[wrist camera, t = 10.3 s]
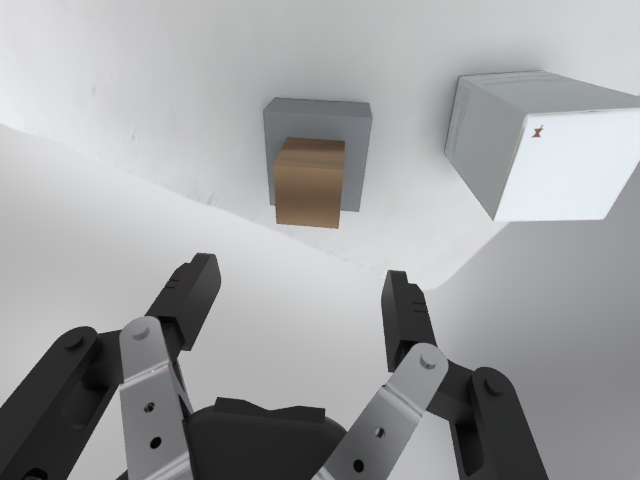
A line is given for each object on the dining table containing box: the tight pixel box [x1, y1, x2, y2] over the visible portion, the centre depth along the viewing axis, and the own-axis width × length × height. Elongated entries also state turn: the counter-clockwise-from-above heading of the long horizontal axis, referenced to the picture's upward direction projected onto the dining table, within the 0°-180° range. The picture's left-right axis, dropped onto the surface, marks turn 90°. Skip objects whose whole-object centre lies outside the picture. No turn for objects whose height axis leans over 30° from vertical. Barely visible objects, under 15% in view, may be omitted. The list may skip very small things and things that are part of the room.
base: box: [263, 98, 372, 212], centre depth 29 cm, size 9×9×5 cm
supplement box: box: [445, 71, 640, 222], centre depth 23 cm, size 7×7×13 cm
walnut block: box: [273, 137, 345, 229], centre depth 24 cm, size 5×5×6 cm
